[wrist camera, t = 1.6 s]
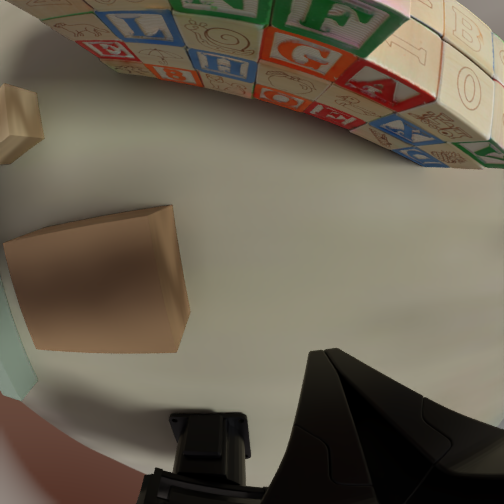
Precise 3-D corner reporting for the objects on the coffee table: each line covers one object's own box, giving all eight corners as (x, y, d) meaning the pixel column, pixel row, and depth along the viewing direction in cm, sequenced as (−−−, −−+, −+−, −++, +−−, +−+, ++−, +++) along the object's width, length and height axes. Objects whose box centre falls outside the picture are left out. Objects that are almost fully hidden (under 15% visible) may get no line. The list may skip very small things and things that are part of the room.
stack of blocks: (438, 93, 15) (570, 61, 3) (423, 168, 17) (576, 184, 5) (149, 1, 13) (81, -111, 1) (114, 75, 15) (-11, -6, 3)
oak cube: (45, 138, 15) (9, 135, 11) (11, 163, 15) (-24, 165, 12) (37, 93, 14) (4, 83, 10) (4, 120, 14) (-29, 116, 11)
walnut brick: (191, 310, 19) (176, 352, 14) (69, 316, 19) (36, 349, 14) (173, 204, 17) (147, 215, 12) (46, 226, 17) (2, 243, 12)
